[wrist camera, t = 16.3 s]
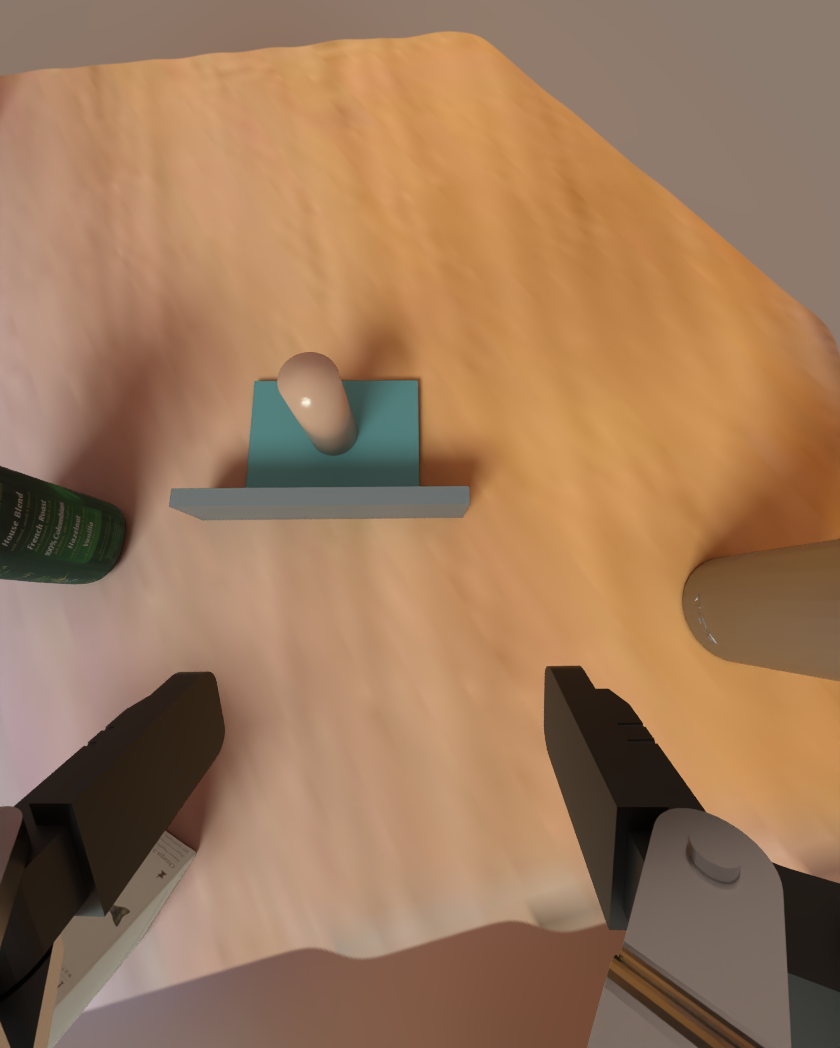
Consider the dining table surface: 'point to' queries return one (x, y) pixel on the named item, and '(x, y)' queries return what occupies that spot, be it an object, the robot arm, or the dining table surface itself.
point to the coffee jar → (55, 532)
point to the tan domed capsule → (318, 402)
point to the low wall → (322, 502)
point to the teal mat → (371, 462)
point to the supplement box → (114, 932)
